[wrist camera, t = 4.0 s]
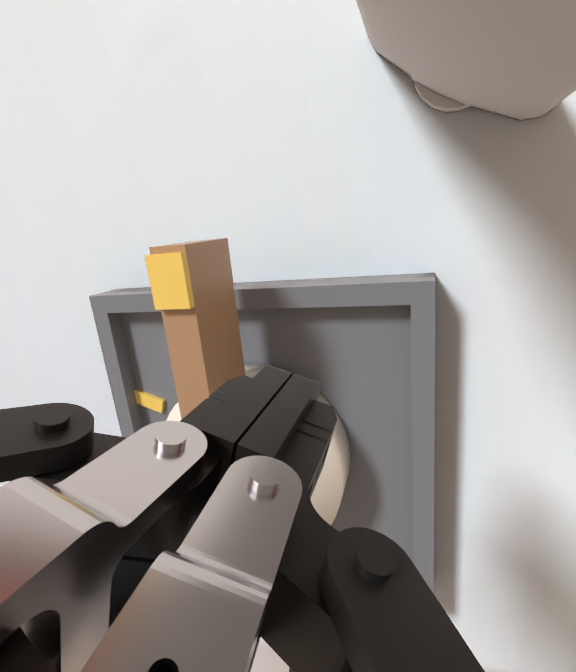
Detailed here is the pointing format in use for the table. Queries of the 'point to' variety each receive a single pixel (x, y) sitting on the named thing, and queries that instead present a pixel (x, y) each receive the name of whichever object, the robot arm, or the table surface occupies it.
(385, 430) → the plate
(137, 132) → the table surface
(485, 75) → the tall pale column
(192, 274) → the dial
